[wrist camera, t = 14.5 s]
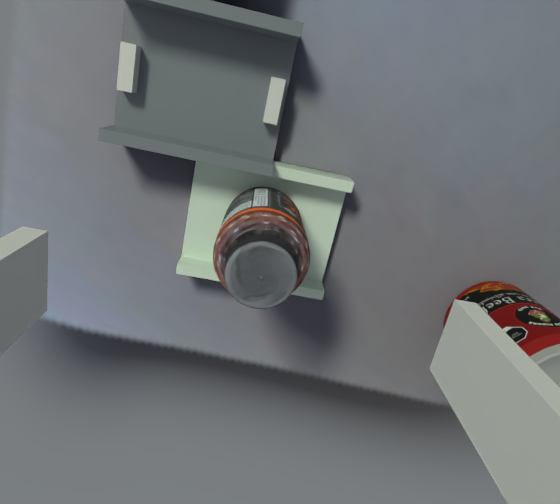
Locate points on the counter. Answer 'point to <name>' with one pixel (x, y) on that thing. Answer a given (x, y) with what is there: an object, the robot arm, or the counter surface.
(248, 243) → the supplement bottle
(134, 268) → the counter surface
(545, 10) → the counter surface
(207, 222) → the trough
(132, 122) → the checker cradle
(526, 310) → the canned food
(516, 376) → the robot arm
